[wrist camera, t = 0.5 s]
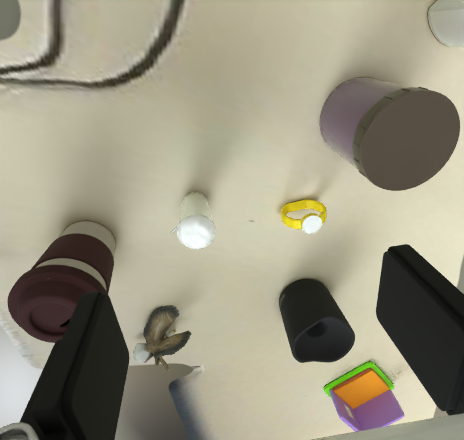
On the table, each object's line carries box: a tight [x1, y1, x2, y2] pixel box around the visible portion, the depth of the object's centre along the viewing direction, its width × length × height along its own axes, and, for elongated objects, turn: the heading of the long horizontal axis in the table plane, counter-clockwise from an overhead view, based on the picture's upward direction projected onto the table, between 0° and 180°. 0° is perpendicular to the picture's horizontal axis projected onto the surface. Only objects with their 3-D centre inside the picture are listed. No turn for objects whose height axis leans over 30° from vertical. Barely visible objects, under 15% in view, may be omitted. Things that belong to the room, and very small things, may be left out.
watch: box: [281, 199, 326, 234], centre depth 46 cm, size 6×3×6 cm, turn 99°
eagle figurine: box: [133, 306, 191, 371], centre depth 55 cm, size 8×7×9 cm
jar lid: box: [353, 87, 460, 191], centre depth 34 cm, size 10×10×2 cm
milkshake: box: [170, 192, 216, 249], centre depth 42 cm, size 4×5×10 cm
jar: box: [320, 77, 410, 169], centre depth 38 cm, size 10×10×12 cm
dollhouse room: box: [324, 362, 404, 432], centre depth 69 cm, size 12×12×7 cm
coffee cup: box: [8, 221, 116, 343], centre depth 41 cm, size 10×10×15 cm
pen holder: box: [279, 279, 355, 363], centre depth 53 cm, size 9×9×10 cm
